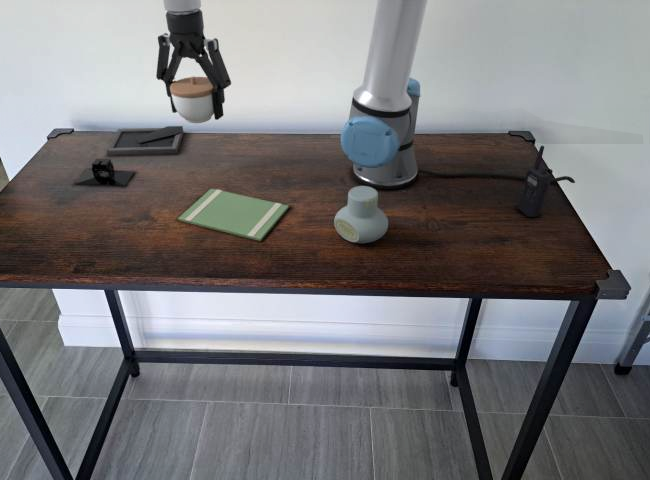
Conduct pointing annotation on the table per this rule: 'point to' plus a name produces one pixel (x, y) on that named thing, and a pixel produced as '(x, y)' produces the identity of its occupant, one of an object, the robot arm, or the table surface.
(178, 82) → the trinket box
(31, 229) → the table surface
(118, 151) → the picture frame
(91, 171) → the black mounting bracket
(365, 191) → the air freshener
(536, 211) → the two-way radio
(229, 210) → the towel
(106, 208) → the table surface
